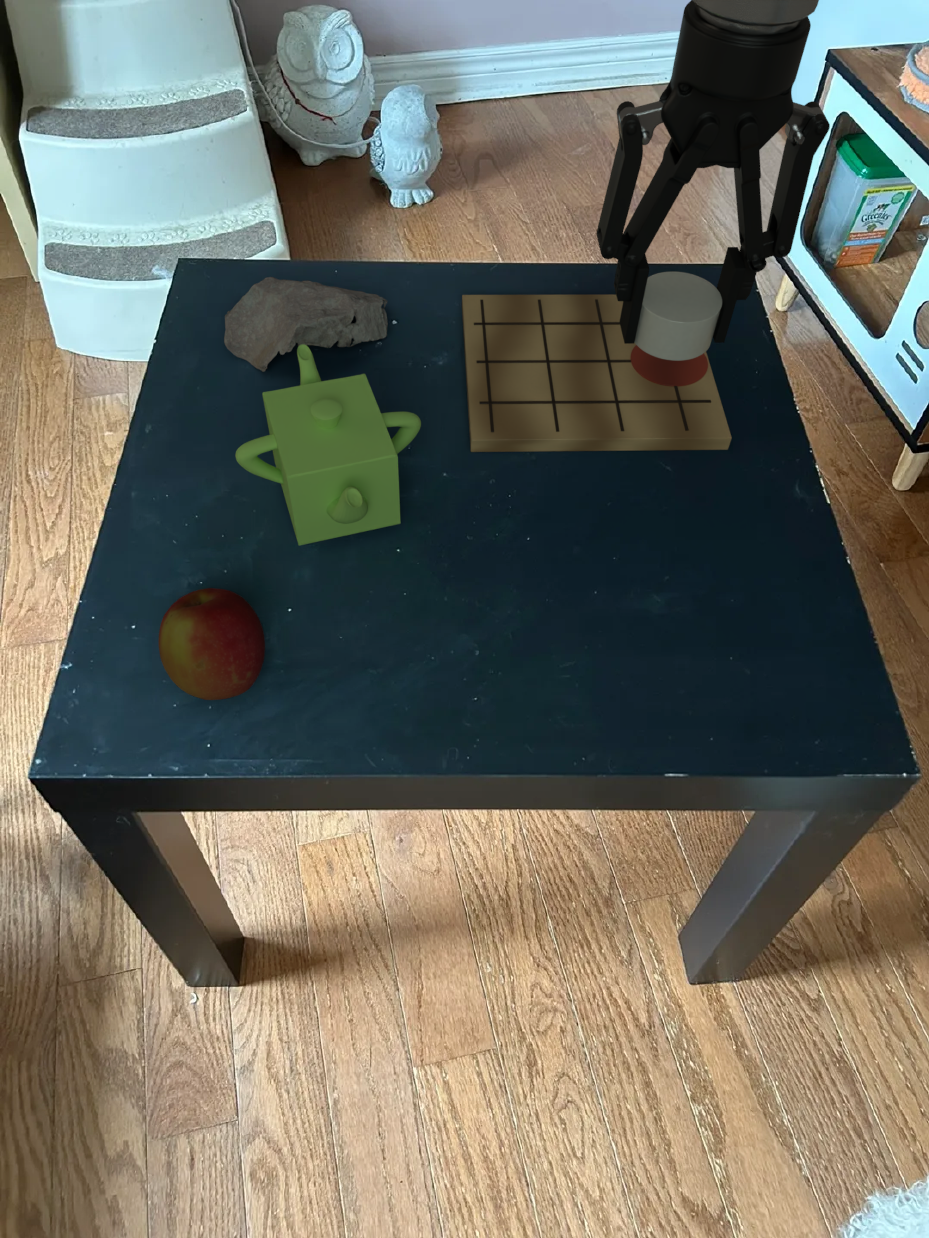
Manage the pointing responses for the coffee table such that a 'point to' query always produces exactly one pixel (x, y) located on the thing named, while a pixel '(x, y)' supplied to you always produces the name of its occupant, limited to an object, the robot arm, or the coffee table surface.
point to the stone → (300, 319)
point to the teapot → (331, 454)
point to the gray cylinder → (678, 316)
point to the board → (579, 381)
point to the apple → (212, 644)
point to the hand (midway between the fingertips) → (671, 331)
